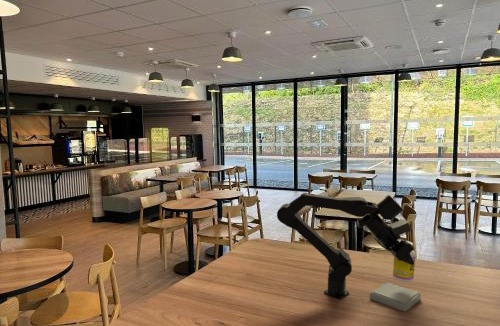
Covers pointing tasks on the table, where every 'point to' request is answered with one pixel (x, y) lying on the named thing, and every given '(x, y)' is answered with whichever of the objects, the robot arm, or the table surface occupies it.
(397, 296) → the slate base
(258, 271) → the table surface
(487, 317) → the table surface
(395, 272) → the supplement bottle
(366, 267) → the table surface
